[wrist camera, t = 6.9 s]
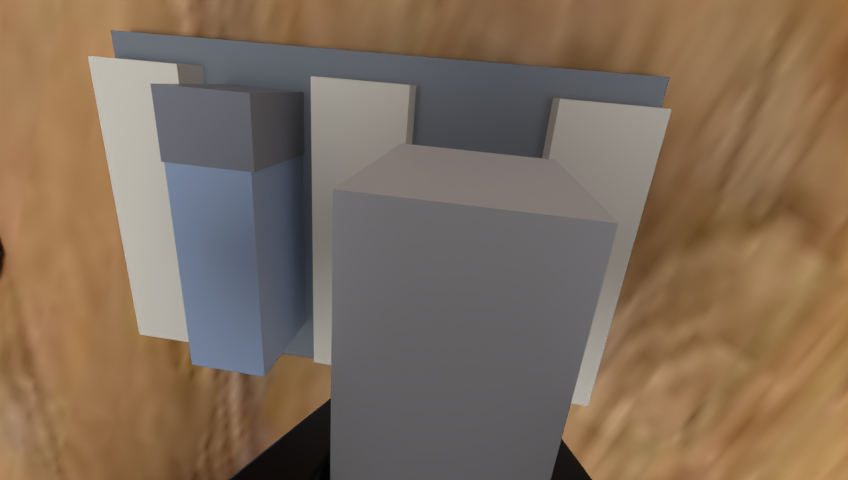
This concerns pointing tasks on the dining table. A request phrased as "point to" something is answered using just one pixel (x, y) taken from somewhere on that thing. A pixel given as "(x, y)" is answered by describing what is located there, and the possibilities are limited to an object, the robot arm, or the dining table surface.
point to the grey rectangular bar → (236, 217)
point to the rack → (374, 148)
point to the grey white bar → (459, 313)
